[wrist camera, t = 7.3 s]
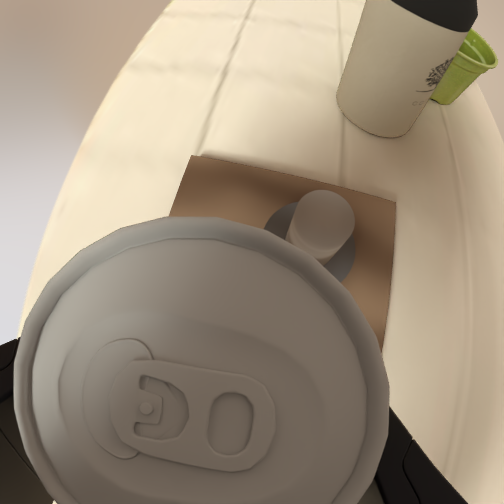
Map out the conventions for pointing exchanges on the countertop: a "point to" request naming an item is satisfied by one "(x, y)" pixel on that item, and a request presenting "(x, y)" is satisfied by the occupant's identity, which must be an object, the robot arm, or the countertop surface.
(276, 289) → the beverage can
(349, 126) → the countertop surface
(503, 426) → the countertop surface
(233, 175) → the pin board
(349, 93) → the travel mug
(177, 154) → the countertop surface
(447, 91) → the plant pot
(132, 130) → the countertop surface
